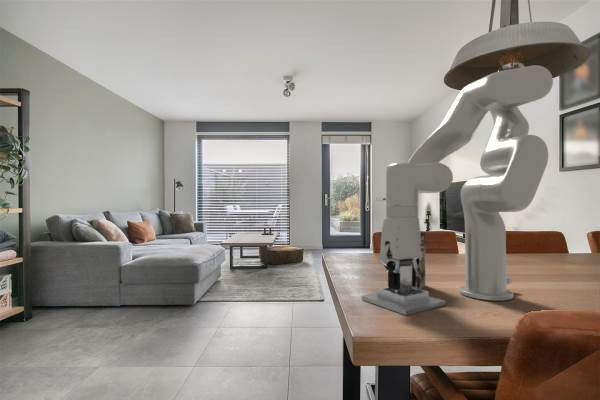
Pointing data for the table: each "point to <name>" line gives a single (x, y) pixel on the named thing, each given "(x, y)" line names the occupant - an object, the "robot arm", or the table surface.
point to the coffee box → (421, 265)
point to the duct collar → (404, 300)
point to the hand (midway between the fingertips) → (401, 286)
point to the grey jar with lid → (404, 277)
